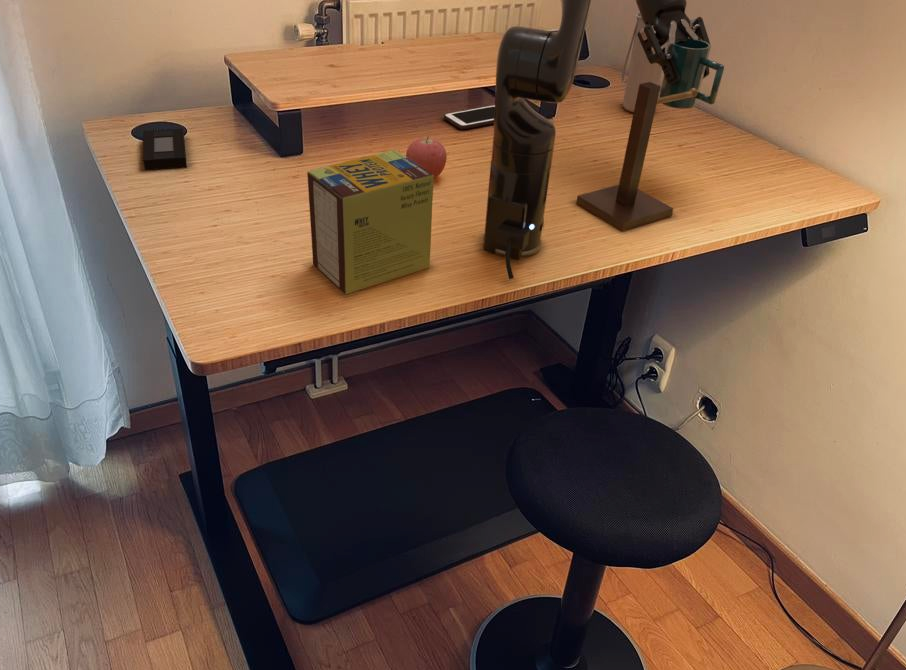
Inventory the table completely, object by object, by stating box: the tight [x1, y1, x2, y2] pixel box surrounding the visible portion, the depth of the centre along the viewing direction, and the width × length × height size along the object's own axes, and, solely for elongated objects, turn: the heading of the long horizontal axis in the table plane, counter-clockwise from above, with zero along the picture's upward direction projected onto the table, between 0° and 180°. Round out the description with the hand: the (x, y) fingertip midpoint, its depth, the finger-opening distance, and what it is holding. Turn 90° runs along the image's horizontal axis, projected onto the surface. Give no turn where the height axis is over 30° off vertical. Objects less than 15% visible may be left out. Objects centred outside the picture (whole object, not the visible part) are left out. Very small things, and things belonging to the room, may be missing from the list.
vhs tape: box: [142, 128, 188, 171], centre depth 151 cm, size 8×14×2 cm, turn 16°
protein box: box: [306, 149, 435, 295], centre depth 117 cm, size 10×15×16 cm
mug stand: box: [575, 82, 698, 232], centre depth 135 cm, size 18×12×22 cm
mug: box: [658, 37, 725, 110], centre depth 136 cm, size 11×6×10 cm, turn 32°
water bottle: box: [621, 11, 663, 114], centre depth 174 cm, size 9×8×25 cm
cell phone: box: [443, 104, 495, 130], centre depth 172 cm, size 8×15×1 cm, turn 121°
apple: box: [405, 135, 448, 179], centre depth 145 cm, size 7×7×8 cm
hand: (690, 79), depth 136 cm, fingers closed on mug, 6 cm apart
